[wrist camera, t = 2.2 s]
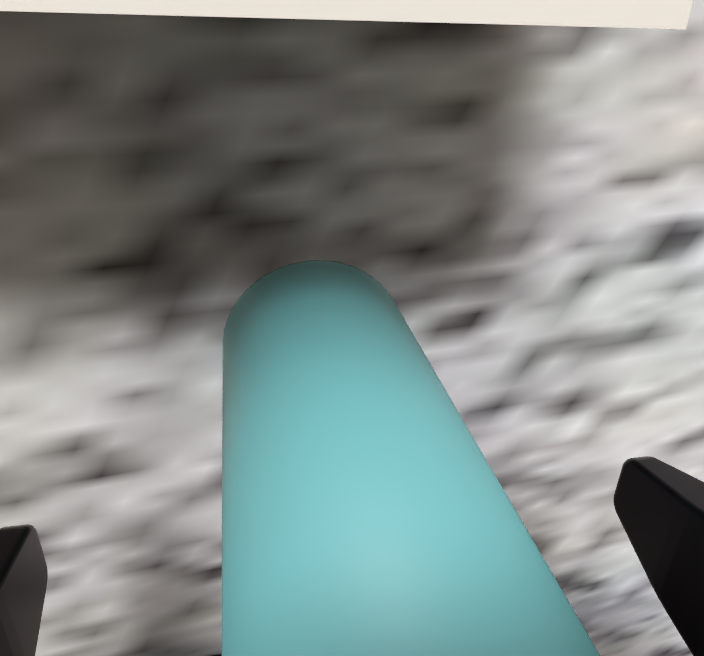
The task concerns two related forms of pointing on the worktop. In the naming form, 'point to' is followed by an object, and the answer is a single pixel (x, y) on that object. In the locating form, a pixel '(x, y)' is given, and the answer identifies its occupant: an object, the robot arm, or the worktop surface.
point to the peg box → (397, 10)
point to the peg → (364, 491)
